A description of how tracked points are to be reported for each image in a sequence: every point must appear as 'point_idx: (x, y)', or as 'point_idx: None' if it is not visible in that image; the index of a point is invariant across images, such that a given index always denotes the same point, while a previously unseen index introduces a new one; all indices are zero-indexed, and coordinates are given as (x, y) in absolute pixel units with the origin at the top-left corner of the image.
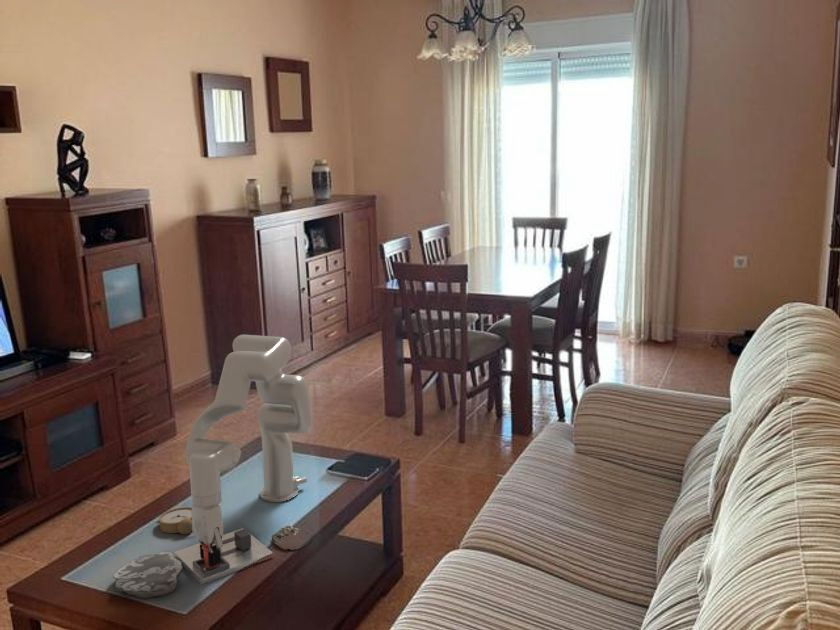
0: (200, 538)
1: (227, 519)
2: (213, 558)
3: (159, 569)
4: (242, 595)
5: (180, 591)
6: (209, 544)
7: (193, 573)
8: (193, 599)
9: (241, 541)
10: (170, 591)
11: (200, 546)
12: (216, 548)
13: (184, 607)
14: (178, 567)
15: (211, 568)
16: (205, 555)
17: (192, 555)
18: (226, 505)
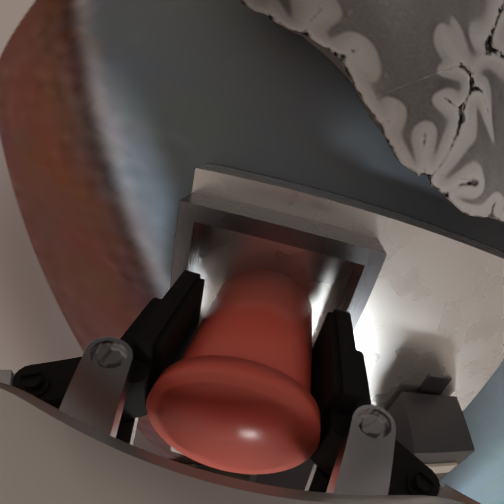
0: (132, 489)
1: (464, 469)
2: (137, 321)
3: (496, 65)
4: (31, 233)
5: (247, 42)
6: (70, 412)
7: (323, 195)
8: (125, 59)
9: (256, 475)
10: None
11: (344, 384)
12: (11, 375)
13: (109, 4)
14: (423, 146)
15: (227, 281)
16: (242, 326)
17: (461, 315)
18: (491, 477)
